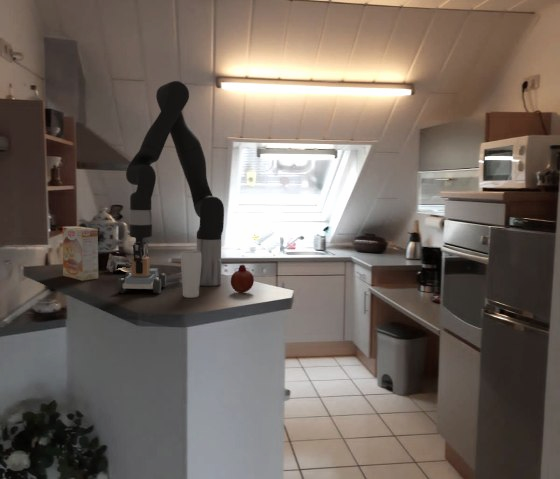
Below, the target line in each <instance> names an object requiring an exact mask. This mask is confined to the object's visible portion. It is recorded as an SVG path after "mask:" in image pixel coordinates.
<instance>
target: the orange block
mask: <svg viewBox="0 0 560 479" xmlns="http://www.w3.org/2000/svg"><path fill="white" fill-rule="evenodd" d="M137 258H140V257H139V256H138V257H137ZM150 260H151V259H150V256H148V257H143V273H142V274H136V263H135V262H134V257H132V258H131V263H132V276H148V275H149V274H150V267H151V266H150Z"/></svg>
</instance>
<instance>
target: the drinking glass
mask: <svg viewBox="0 0 560 479" xmlns="http://www.w3.org/2000/svg"><path fill="white" fill-rule="evenodd" d="M201 261H202V259H201V252H199V251H197V250H186V251H181V252H180V270H181V282H182V295H183V296H182V297H184V298H187V299H194V298H195V299H196V298H199V296H200V286H201V285H200V274H201Z"/></svg>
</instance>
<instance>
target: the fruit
mask: <svg viewBox="0 0 560 479" xmlns="http://www.w3.org/2000/svg"><path fill="white" fill-rule="evenodd" d="M254 282H255V279H254V275H253V273H252V272H251V271H249V270H248V269H247V267H246V266H245V264H240V265H239V267H238V270H236V271H234V272H233V274H232V275H231V277H230V286H231V287H232V289H233V290H234V291H235V292H237V293H241V294H243V293H246V292H248V291H250V290H251V289H252V287H253V285H254Z"/></svg>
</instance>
